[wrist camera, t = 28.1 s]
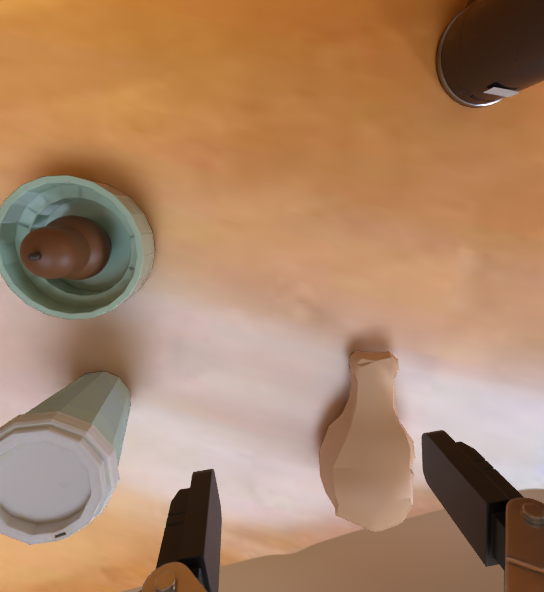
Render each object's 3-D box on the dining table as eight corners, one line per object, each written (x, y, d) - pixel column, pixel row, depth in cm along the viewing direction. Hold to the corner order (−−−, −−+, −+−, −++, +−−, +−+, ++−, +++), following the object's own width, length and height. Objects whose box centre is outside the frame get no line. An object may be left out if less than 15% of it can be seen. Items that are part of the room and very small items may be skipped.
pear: (63, 208, 36) (-10, 205, 26) (124, 223, 37) (79, 227, 27) (54, 266, 38) (-19, 287, 27) (114, 280, 38) (66, 305, 28)
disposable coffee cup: (38, 369, 40) (-74, 456, 26) (132, 338, 41) (74, 407, 26) (79, 449, 43) (-3, 569, 28) (167, 419, 43) (131, 524, 28)
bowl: (36, 165, 36) (1, 157, 31) (166, 200, 38) (155, 198, 32) (19, 289, 38) (-16, 301, 33) (143, 316, 40) (128, 332, 35)
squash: (316, 493, 48) (319, 546, 39) (319, 341, 46) (324, 360, 37) (401, 498, 47) (425, 553, 38) (408, 344, 45) (434, 364, 36)
